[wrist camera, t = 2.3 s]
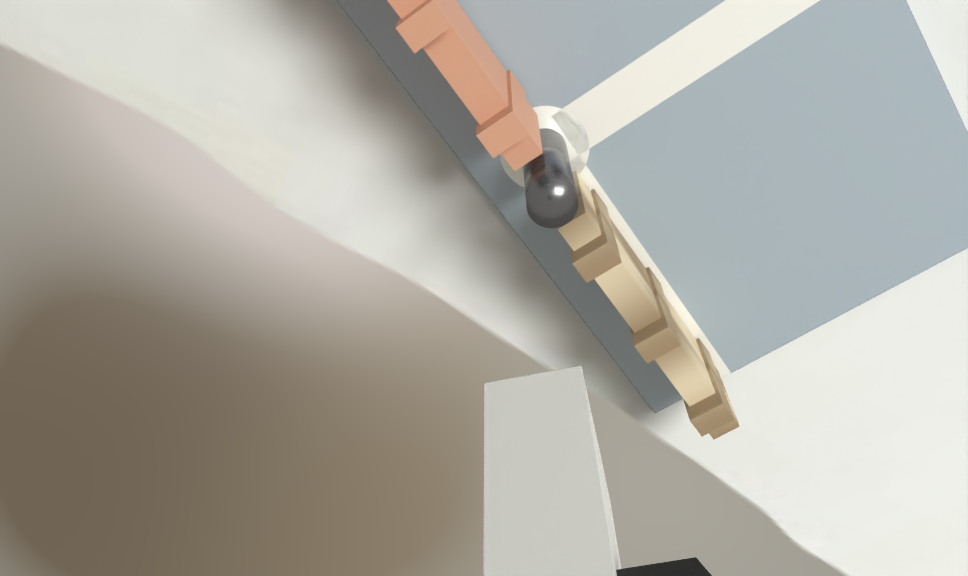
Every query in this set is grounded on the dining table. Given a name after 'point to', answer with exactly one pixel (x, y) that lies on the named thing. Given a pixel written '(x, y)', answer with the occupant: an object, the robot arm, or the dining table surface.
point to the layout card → (721, 154)
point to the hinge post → (550, 183)
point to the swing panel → (473, 76)
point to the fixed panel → (647, 312)
